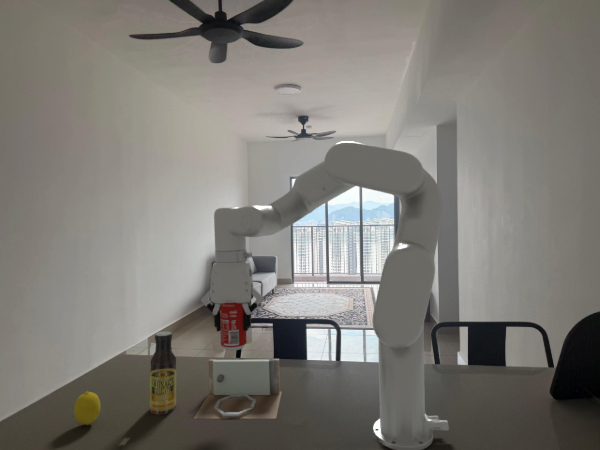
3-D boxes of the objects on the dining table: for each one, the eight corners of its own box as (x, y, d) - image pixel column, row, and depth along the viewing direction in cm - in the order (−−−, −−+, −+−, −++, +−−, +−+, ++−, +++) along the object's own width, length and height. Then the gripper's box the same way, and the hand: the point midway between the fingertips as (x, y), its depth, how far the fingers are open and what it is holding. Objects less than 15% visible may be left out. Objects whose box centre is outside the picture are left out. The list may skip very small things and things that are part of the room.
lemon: (95, 416, 97) (93, 384, 96) (105, 423, 93) (103, 390, 93) (70, 426, 92) (69, 392, 92) (80, 434, 89) (79, 399, 89)
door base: (281, 395, 105) (280, 358, 105) (276, 422, 91) (274, 380, 91) (210, 395, 106) (209, 359, 106) (193, 422, 92) (192, 380, 92)
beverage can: (249, 343, 100) (247, 296, 100) (243, 351, 94) (241, 302, 93) (225, 343, 100) (223, 296, 100) (217, 351, 94) (216, 302, 94)
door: (274, 392, 104) (274, 359, 104) (273, 397, 102) (272, 362, 101) (215, 393, 105) (213, 359, 105) (212, 397, 102) (211, 363, 102)
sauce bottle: (148, 420, 94) (145, 338, 93) (151, 408, 100) (148, 331, 99) (177, 416, 96) (174, 335, 95) (178, 404, 102) (175, 328, 101)
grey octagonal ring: (258, 397, 102) (257, 394, 102) (251, 417, 92) (251, 413, 92) (221, 398, 102) (220, 395, 102) (210, 417, 93) (210, 413, 93)
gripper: (267, 255, 100) (269, 325, 100) (201, 256, 101) (203, 325, 101) (263, 258, 92) (265, 333, 93) (191, 259, 93) (194, 334, 94)
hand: (233, 328), depth 97 cm, fingers closed on beverage can, 6 cm apart
